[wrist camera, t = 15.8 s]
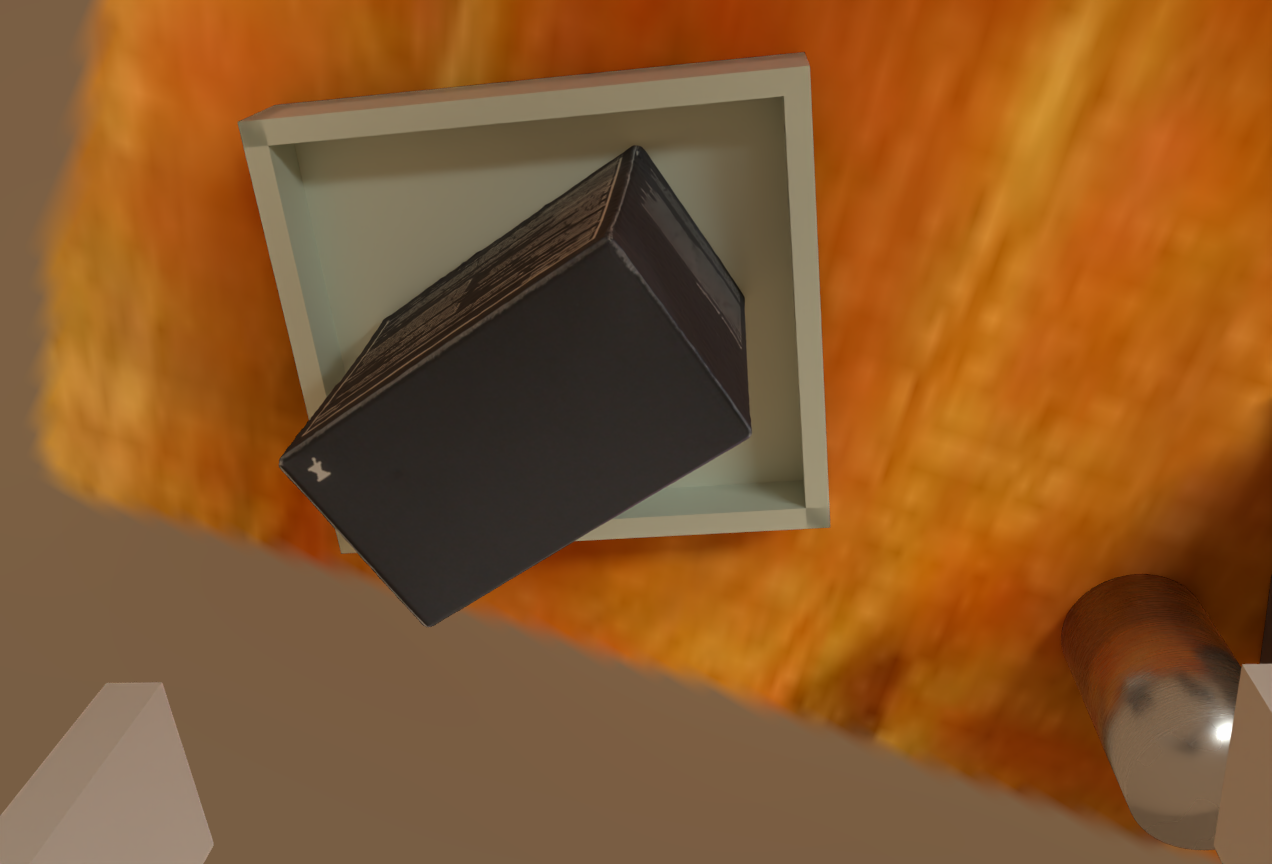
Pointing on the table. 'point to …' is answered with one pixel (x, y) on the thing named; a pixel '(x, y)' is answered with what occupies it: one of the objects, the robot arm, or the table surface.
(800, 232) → the tray
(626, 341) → the small box
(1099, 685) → the grey cylinder
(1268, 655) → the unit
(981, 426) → the table surface
